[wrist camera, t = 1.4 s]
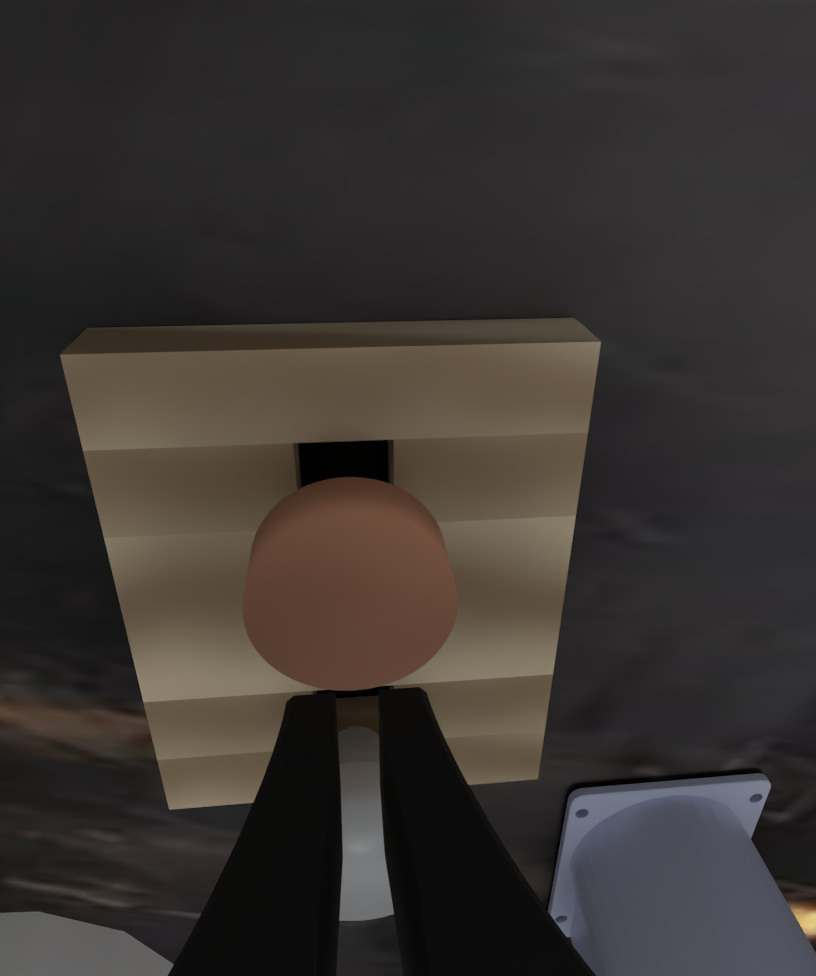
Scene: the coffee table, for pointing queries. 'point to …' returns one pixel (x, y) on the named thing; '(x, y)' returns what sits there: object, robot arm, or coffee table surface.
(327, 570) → the rust plunger
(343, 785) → the grey plunger
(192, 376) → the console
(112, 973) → the container
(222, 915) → the robot arm
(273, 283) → the coffee table surface
